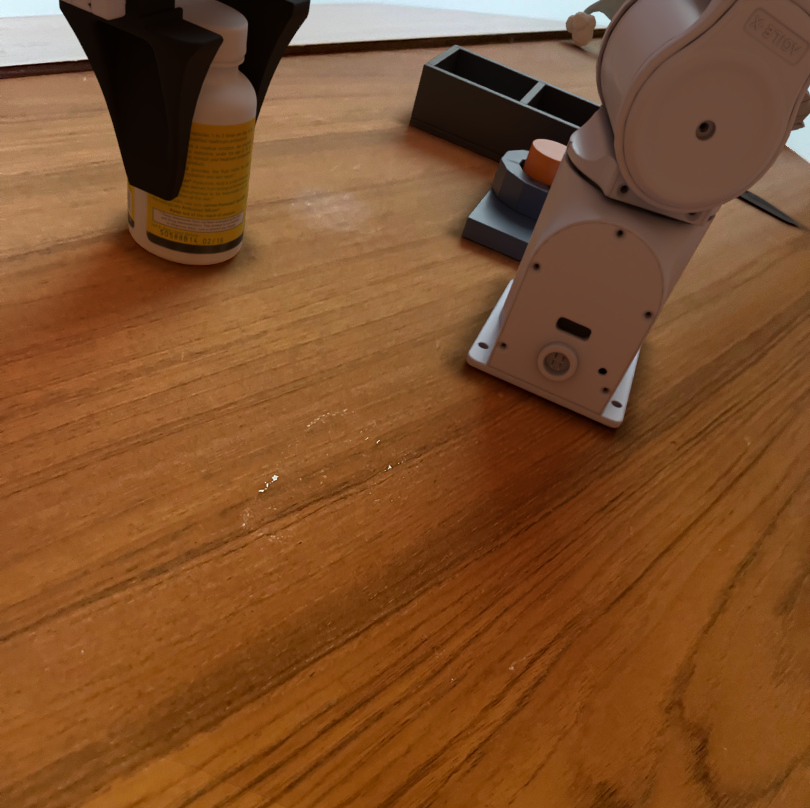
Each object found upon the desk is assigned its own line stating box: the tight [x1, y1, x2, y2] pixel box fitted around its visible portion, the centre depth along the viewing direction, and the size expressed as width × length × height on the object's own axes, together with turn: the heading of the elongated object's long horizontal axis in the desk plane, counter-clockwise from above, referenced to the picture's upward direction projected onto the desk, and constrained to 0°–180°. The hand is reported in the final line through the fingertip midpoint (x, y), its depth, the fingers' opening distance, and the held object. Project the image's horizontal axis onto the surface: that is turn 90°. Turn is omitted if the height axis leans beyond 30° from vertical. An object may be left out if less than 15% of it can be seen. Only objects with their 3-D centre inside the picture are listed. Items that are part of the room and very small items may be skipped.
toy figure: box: [565, 0, 627, 47], centre depth 82 cm, size 17×10×15 cm
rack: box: [408, 44, 602, 163], centre depth 56 cm, size 8×15×4 cm, turn 70°
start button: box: [523, 139, 567, 186], centre depth 47 cm, size 3×3×2 cm
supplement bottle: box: [126, 0, 257, 266], centre depth 33 cm, size 5×5×10 cm
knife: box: [739, 190, 802, 227], centre depth 64 cm, size 16×1×3 cm
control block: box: [461, 150, 551, 262], centre depth 47 cm, size 10×8×3 cm
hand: (190, 169), depth 34 cm, fingers closed on supplement bottle, 5 cm apart
